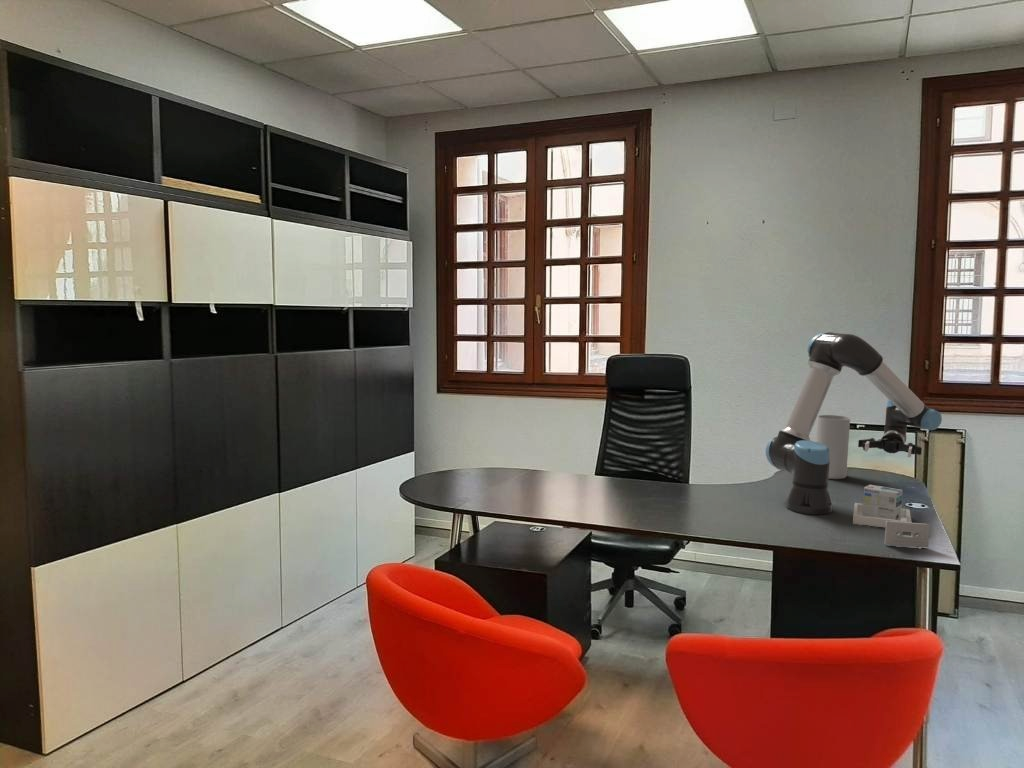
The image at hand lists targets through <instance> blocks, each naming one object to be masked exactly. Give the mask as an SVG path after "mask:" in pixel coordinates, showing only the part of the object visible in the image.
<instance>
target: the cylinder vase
mask: <svg viewBox="0 0 1024 768" xmlns="http://www.w3.org/2000/svg"><path fill="white" fill-rule="evenodd" d="M850 424H851V418H850V417H848V416H844V415H835V414H818V415H817V418H816V435H815V436H816V437H815V442H818V443H821V444H824V445H825V446H827V447H828V448H829V451H830V464H829V477H828V480H842V479H843V480H844V479H846V477H847V475H848V474H847V471H848V455H849V441H850V426H851V425H850Z"/></svg>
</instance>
